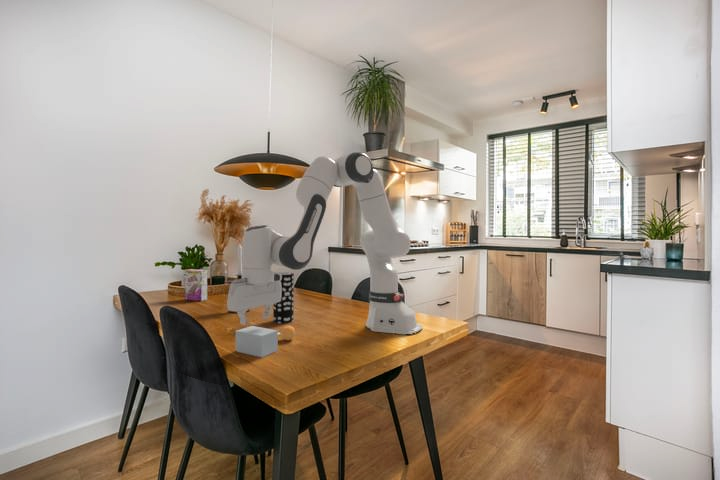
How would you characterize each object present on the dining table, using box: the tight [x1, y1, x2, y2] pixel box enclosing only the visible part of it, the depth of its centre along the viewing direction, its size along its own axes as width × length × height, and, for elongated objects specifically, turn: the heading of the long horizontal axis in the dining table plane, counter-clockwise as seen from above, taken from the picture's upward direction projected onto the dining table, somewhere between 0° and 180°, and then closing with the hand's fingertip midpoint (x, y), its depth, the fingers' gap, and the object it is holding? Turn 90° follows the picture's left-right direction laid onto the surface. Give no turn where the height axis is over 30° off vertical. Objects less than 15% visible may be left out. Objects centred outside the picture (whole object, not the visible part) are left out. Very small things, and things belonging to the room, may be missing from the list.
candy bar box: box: [184, 268, 208, 302], centre depth 195 cm, size 11×5×16 cm, turn 72°
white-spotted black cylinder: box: [272, 272, 295, 324], centre depth 152 cm, size 8×8×20 cm
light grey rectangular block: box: [235, 325, 279, 358], centre depth 114 cm, size 11×7×6 cm, turn 62°
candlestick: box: [226, 237, 250, 314], centre depth 170 cm, size 11×11×35 cm
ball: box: [280, 325, 296, 341], centre depth 126 cm, size 5×5×5 cm
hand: (255, 320), depth 114 cm, fingers open, 8 cm apart
